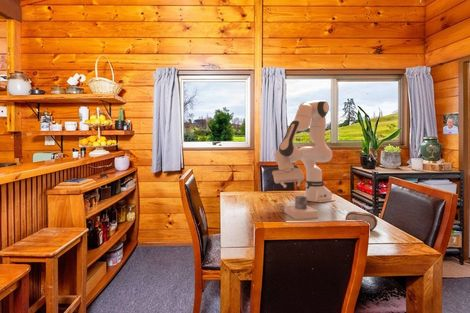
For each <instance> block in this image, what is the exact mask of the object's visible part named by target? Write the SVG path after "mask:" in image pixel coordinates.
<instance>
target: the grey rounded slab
mask: <svg viewBox="0 0 470 313" xmlns="http://www.w3.org/2000/svg"><path fill="white" fill-rule="evenodd" d="M345 220H363V221H366V222H367V223H369V224H370V231H373V230H374V229H375V228H377V225H378V219H377V218H376V216H375V215H373V214H372V213H367V212H360V211H350V212H348V213H347V214H346V216H345Z"/></svg>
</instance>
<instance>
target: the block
mask: <svg viewBox="0 0 470 313" xmlns="http://www.w3.org/2000/svg"><path fill="white" fill-rule="evenodd" d="M294 198H295V200H294V205H295V208H297V209H307V206H308V205H307V203H308V201H307V197H305V195H295V196H294Z"/></svg>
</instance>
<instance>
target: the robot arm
mask: <svg viewBox="0 0 470 313" xmlns="http://www.w3.org/2000/svg"><path fill="white" fill-rule="evenodd" d="M329 109H330V105H329V102H327V101H326V100H324V99H323V100H322V99H321V100H312V101H307V102H302V103H300V104H299V106H298V109H297V110H296V114H295V117H294V120H292V121H291V122H290V124H289V126H288V128H287V131H286V132H285V136H284V138H283V139H282V141H281V143H280V144H279V147H278V148H277V150H275V152H274V156H275V158H274V159H275V161H276V165H278V168H277V169H276V170H272V171H271V174H272V177H273V181H274V183H275V184H280V185H281V186H283V189H286V188H287V186H288V185H287V184H286V183H295V182H297V184H296V186H297V187H298V188H299V187H301V182H303V181H305V191H304V196H305V197H307V202H315V203H327V202H335V201H336V198H334V197H333V194H332V191H331V190H329V189H328V188H327V187H326V186H325V185H327V184H328V183H327V181H324V180H323V171H322V169H321V168H320V167H319V166H318V165H317V164H316V163H327V162H330V161H331V160H332V158H333V151H332V149H331V148H330V147H329V146H328V144H327V142H326V140H325V139H326V127H327V126H326V124H327V123H326V122H327V120H326V115H327V114H328V113H329ZM308 129H309V131H308V132H309V133H308V138H309V140H310V141H311V142H313V143H314V146H308V145H307V146H301V147H300V148H299V147H298V146H296V145H295V144H294V139H295V137H296V134H297V132H305V131H306V130H308ZM298 161H300V162H302V164H303V165H304V168H305V173H306V174H304V173H303V170H302V169H300V165H297V164H295V163H297V162H298ZM305 175H306V178H305Z"/></svg>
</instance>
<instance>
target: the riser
mask: <svg viewBox="0 0 470 313" xmlns="http://www.w3.org/2000/svg"><path fill="white" fill-rule="evenodd" d="M283 208H284V212H283V213H285V214H286V215H288V216H290V217H291V218H293V219H294V218H295V219H294V220H303V219H304V220H305V218H306V219H316V218H317V219H318V218H319V210H317V209H315V208H313V207H311V206H309V205H307V209H297V208H295V204H293V205H292V204H291V205H284V207H283Z"/></svg>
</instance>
